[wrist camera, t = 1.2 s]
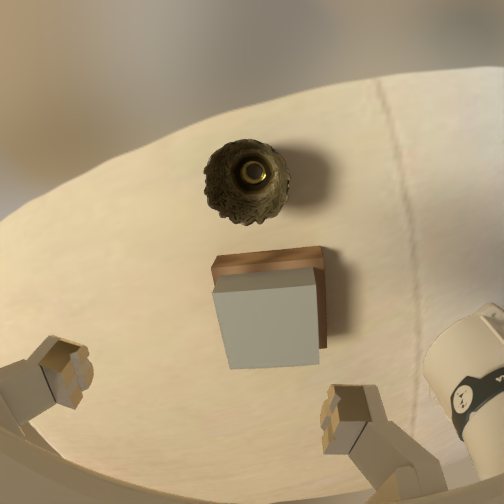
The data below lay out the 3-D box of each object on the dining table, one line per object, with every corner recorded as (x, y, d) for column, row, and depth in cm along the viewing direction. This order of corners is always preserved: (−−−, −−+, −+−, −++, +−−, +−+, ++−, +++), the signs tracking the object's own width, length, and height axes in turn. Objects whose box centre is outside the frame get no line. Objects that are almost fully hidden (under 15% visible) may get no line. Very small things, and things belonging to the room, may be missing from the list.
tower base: (319, 244, 36) (323, 257, 33) (324, 329, 41) (327, 348, 37) (218, 254, 38) (210, 268, 34) (234, 336, 42) (230, 354, 39)
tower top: (312, 267, 33) (315, 284, 29) (317, 342, 37) (319, 364, 33) (219, 275, 35) (212, 293, 31) (235, 347, 38) (230, 369, 34)
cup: (223, 134, 32) (205, 135, 25) (292, 141, 32) (295, 144, 25) (217, 200, 35) (199, 220, 28) (284, 208, 35) (284, 231, 27)
